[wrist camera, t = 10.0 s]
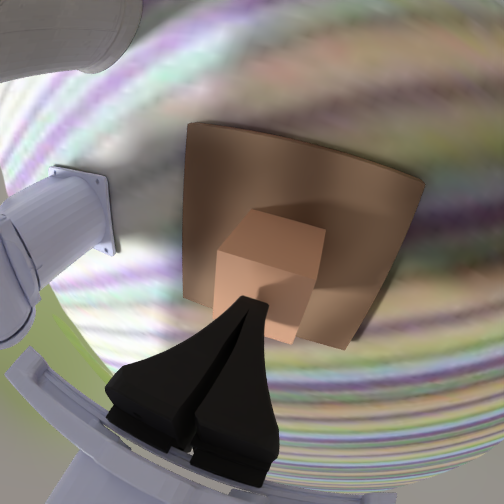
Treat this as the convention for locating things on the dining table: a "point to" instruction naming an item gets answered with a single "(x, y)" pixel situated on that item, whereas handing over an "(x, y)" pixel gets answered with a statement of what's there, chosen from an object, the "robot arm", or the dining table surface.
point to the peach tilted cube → (270, 269)
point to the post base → (297, 216)
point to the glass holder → (64, 35)
